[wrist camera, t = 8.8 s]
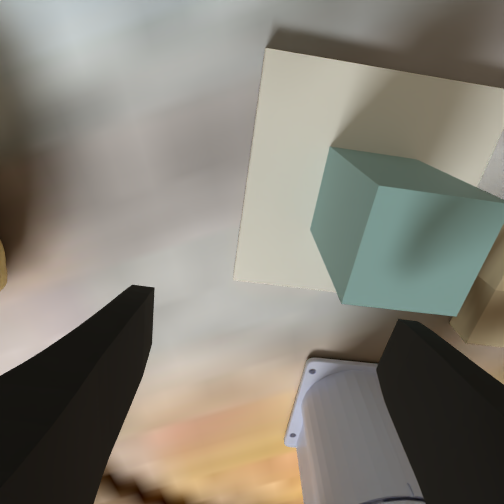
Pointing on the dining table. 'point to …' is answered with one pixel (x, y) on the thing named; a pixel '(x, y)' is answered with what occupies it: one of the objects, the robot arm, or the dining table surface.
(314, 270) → the cream plate
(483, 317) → the pocket holder
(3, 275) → the sculpture
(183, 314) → the dining table surface
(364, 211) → the teal block
